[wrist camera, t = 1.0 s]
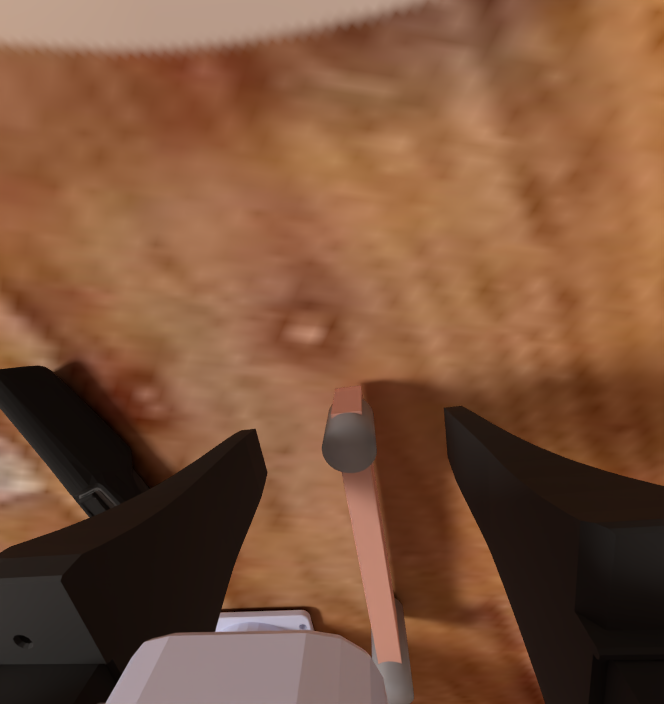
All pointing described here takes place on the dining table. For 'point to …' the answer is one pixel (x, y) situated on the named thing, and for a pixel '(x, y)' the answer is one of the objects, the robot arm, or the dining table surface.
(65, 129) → the dining table surface
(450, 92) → the dining table surface
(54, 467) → the electric trimmer
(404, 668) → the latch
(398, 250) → the dining table surface
